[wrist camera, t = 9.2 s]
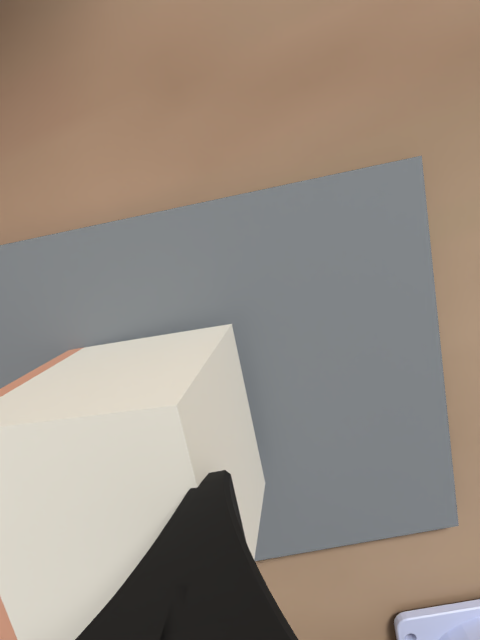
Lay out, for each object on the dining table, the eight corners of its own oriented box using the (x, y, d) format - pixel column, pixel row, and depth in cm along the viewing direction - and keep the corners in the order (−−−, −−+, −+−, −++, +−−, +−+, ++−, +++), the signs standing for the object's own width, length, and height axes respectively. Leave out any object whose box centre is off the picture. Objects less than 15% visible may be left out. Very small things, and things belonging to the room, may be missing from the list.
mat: (452, 516, 16) (458, 525, 16) (-17, 599, 17) (-25, 609, 17) (415, 158, 13) (421, 155, 13) (-150, 278, 14) (-164, 280, 14)
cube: (240, 657, 9) (3, 657, 10) (265, 483, 15) (113, 495, 16) (176, 405, 8) (-87, 437, 9) (231, 323, 13) (69, 349, 14)
